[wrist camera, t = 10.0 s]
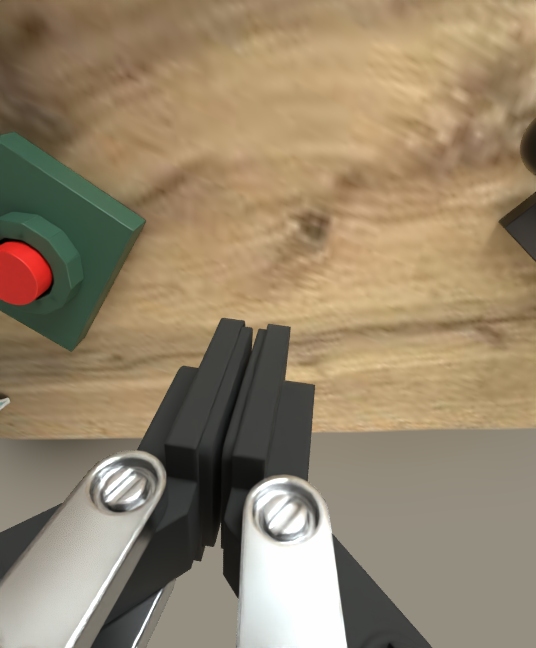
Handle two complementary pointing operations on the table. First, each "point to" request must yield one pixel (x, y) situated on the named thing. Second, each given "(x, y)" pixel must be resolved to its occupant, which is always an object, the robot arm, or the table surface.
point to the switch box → (62, 238)
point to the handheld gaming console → (4, 402)
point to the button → (22, 273)
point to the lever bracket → (523, 225)
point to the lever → (529, 147)
